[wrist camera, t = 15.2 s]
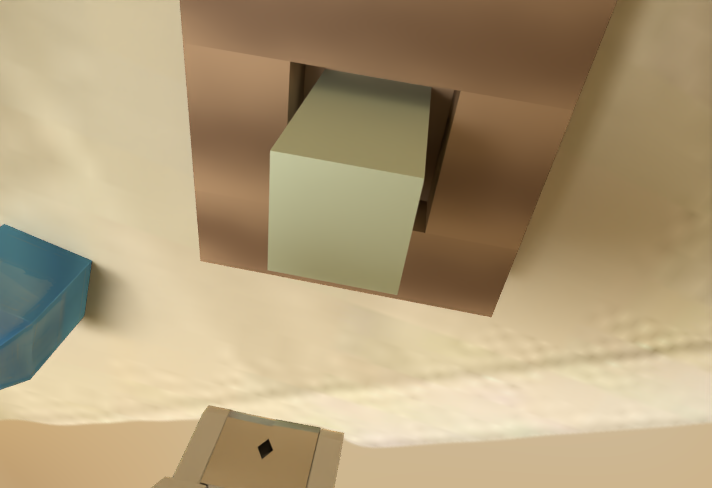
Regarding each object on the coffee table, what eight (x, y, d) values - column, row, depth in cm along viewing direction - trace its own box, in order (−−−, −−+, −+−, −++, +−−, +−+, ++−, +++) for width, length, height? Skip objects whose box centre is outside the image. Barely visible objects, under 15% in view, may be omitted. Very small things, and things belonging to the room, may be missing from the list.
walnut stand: (219, -92, 21) (172, -88, 18) (592, -33, 21) (623, -16, 17) (229, 217, 31) (200, 260, 27) (486, 265, 30) (491, 317, 26)
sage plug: (325, 68, 23) (269, 150, 16) (431, 87, 23) (424, 178, 16) (317, 164, 26) (267, 270, 19) (411, 181, 26) (397, 295, 19)
